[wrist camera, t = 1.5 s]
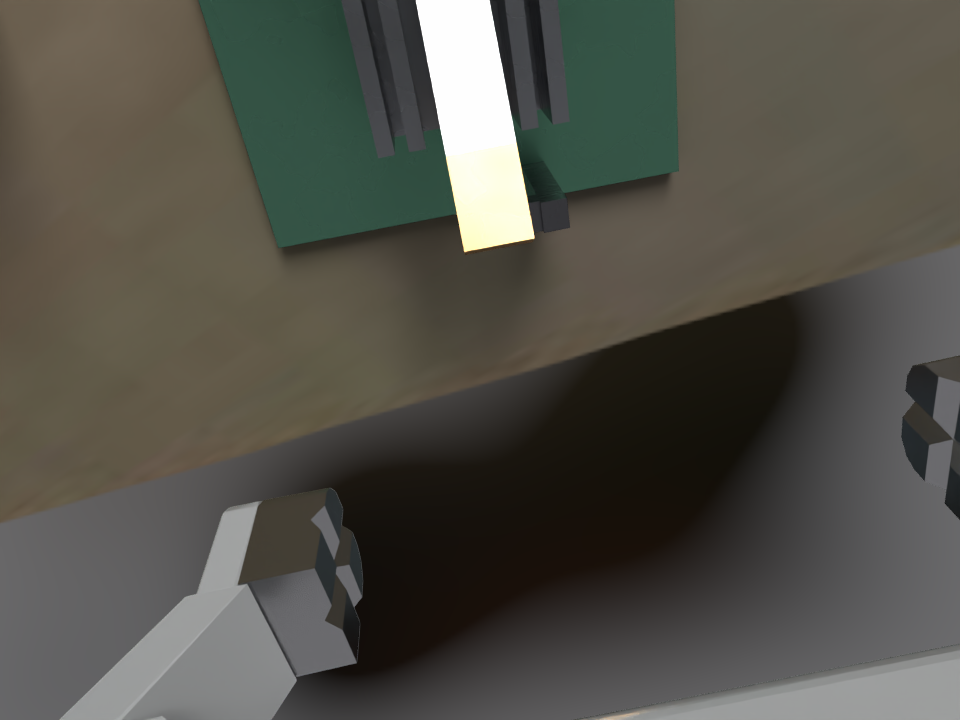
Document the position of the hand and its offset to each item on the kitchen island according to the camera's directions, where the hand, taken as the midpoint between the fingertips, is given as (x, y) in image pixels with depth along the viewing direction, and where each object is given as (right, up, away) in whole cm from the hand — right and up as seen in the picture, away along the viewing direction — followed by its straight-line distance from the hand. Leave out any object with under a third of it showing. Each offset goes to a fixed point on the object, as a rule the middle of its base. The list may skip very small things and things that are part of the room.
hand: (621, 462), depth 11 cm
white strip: (-3, +12, +14) cm, 18 cm away
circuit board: (-3, +15, +19) cm, 25 cm away
